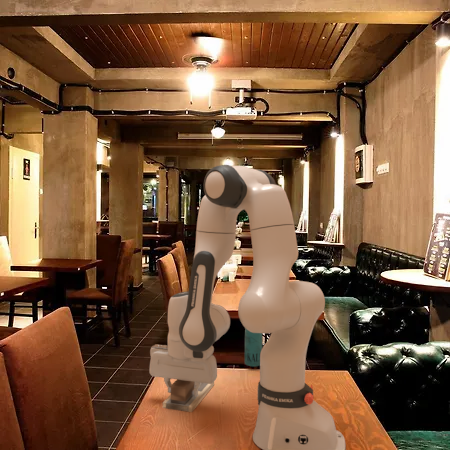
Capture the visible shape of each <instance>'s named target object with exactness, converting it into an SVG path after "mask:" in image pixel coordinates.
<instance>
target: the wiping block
mask: <svg viewBox="0 0 450 450" xmlns="http://www.w3.org/2000/svg"><path fill="white" fill-rule="evenodd" d="M171 384H172V385H171V393H170V395H171V403H175V404H182V405H186V404H187V402H188V401H189V400H190V399H191V398H192V397H193V396H191V394H192V393H191V390H192V389H193V388H194V382H192V381H185V380H177V379H175V381H174V382H173V383H171Z"/></svg>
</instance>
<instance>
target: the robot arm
mask: <svg viewBox="0 0 450 450" xmlns="http://www.w3.org/2000/svg"><path fill="white" fill-rule="evenodd" d="M203 192H204V196H203V197H202V198H201V200H200V204H199V209H198V215H197V219H196V220H197V221H196V231H195V247H194V255H193V261H192V266H191V272H190V279H189V287H188V291H182V292H178V293H175V294H173V295H171V297H170V299H169V301H168V306H167V307H168V308H167V325H168V333H167V345H166V344H154V345H152V346H151V347H150V350H149V354H150V355H149V356H150V361H149V374H150V376H151V377H155V378H156V377H157V378H163V382H164V384H165V386H166V387H167V393H169V394H171V385H172V384H173V383H172V382H171V380H185V381H192V382H195V385H197V386H196V388H193V389H192V390H191V393H192V394H191V396H197V395H198V388H199V387H200V385H201V383H208V384H212V383H213V382H214V383H215V381H216V380H217V378H218V366H217V359H216V357H215V356H214V354H213V353H214V351H215V348H214V346H213V344H215V342H217V341H218V340H220V338H221V337H223V335H225V334H226V333H228V331H229V329H230V326H231V316H230V314H229V312H228V310H227V309H226V308H225V307H223V306H222V305H220V304H215V303H212V302H213V301H212V300H213V293H214V286H215V285H214V284H215V280H216V278H217V276H218V274H219V272H220V271H221V270H222V268H223V267H224V266H225V264H226V263H228V261H229V260H230V259H231V258H232V257H233V252H234V249H235V244H236V236H237V235H236V234H237V233H236V231H237V219H238V215H239V214H240V212H242V211H245V212H246V213H247V216H248V221H249V230H250V232H249V233H250V236H251V237H250V238H251V245H252V246H251V247H252V256H253V257H252V258H253V260H252V261H253V262H252V264H253V265H252V273H251V277H250V281H249V284H248V287H247V288H246V291H245V292H244V293H243V295H241V298H240V300H239V302H238V307H237V308H238V317H239V321H240V322H241V324H242V326H243V327H244V329H245V328H246V329H247V330H248V331H250V332H252V333H262V334H270V336H269V338H268V339H267V340H266V343H265V344H264V345H263V346H262V350H261V353H260V365H259V381H258V383H257V384H258V385H257V394H256V395H257V405H258V412H257V419H256V423H255V427H254V431H253V433H252V441H253V442H254V444H255V445H256V446H257V447H258V448H259V449H262V450H347V449H346V447H347V446H346V438H345V437H344V435H343V434H342V432H340V430H337V428H336V425H335V424H336V423H335V420H334V417H333V415H331V413H330V412H329V411H327V410H326V409H325V408H324V407H323V406H321V405H320V403H318V402H316V401H315V399H314V398H315V397H314V386H313V384H311V385H310V386H309V384H307V383H306V360H307V359H306V358H307V352H308V346H309V343H310V340H311V336H312V333H313V330H314V327H315V325H316V322H317V321H318V319H319V318H320V317H321V315H322V314H323V312H324V310H325V305H326V298H325V295H324V293H323V291H322V289H321V288H320V286H318V285H317V284H316V283H313V282H309V281H303V280H295V281H294V280H293V281H290V276H291V275H290V274H291V270H292V267H293V265H294V264H295V262H296V261H297V260H298V257H299V249H298V241H297V235H296V228H295V222H294V217H293V212H292V208H291V203H290V201H289V199H288V195H287V192H286V190H285V189H284V188H283V187H282V186H280V185H278V184H276V180H275V179H274V178H273V177H272V175H271V174H269V173H267V172H266V171H264V170H261V169H255V168H251V167H249V166H248V167H247V166H243V165H229V164H220V165H216V166H213V167H211V169H209V170H208V171H207V172H206V175H205V177H204V180H203Z"/></svg>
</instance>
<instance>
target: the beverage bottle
mask: <svg viewBox="0 0 450 450" xmlns="http://www.w3.org/2000/svg"><path fill="white" fill-rule="evenodd" d="M244 329H245V330H244V354H243V355H244V356H243V357H244V359H243V361H244V364H245V365H246V366H250V367H260V353H261V350H262V348H263V346H264V345H263V333H252V332H250V331H248V330H247V329H246V328H245V327H244Z"/></svg>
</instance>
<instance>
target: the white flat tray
mask: <svg viewBox="0 0 450 450" xmlns="http://www.w3.org/2000/svg"><path fill="white" fill-rule="evenodd" d="M196 386H197V385H195V382H194V388H196ZM214 386H215V381H214V382H213V383H212V384H208V383H201V385H200V387H199V388H198V395H197V396H193V397H192V398H191V399H190V400H189V401H188V402H187V404H186V405H182V404H175V403H171V394H169V396H168V397H167V398H165V400H164V401H163V402H162V409H168V410H176V411H182V412H189V413H193V412H194V411H195V409H196V408H197V407H198V405H199V404H200V403H201V401H203V399H204V398H205V397H206V396H207V394H208V393H209V392H210V391H211V389H212V388H213V387H214Z"/></svg>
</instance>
